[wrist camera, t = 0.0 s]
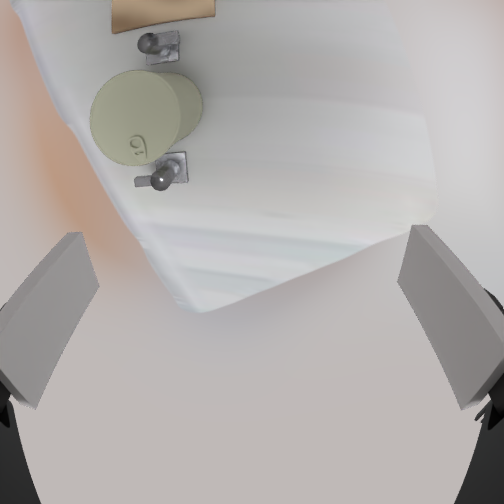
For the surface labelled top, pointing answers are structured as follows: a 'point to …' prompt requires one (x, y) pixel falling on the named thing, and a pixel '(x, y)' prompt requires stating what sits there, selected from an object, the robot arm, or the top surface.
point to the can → (143, 115)
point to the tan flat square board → (156, 12)
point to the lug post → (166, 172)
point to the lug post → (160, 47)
